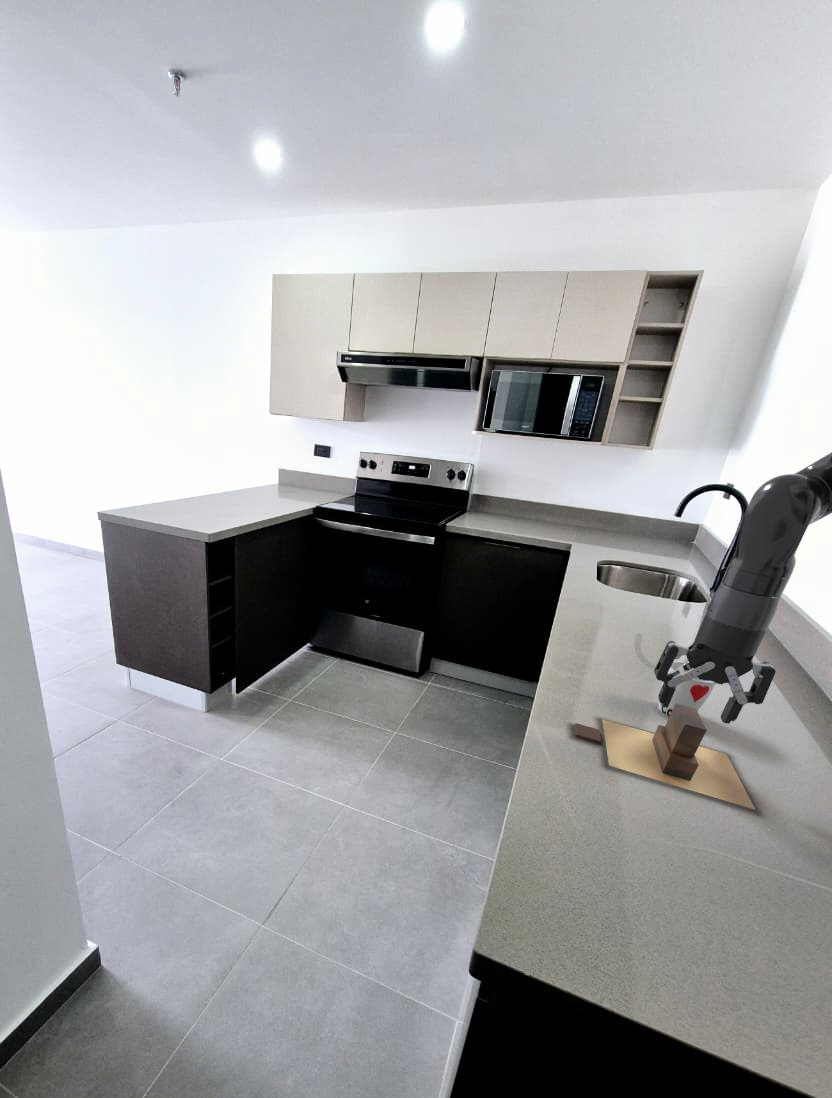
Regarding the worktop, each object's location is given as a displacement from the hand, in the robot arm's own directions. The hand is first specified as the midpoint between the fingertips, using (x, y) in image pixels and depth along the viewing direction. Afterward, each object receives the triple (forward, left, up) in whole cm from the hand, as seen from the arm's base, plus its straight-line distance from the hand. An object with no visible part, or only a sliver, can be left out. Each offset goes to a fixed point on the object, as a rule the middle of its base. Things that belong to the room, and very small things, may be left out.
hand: (693, 713), depth 79 cm
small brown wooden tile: (+13, 0, -10) cm, 17 cm away
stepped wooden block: (0, 0, -9) cm, 9 cm away
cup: (-4, -19, -10) cm, 21 cm away
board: (0, 0, -10) cm, 10 cm away
